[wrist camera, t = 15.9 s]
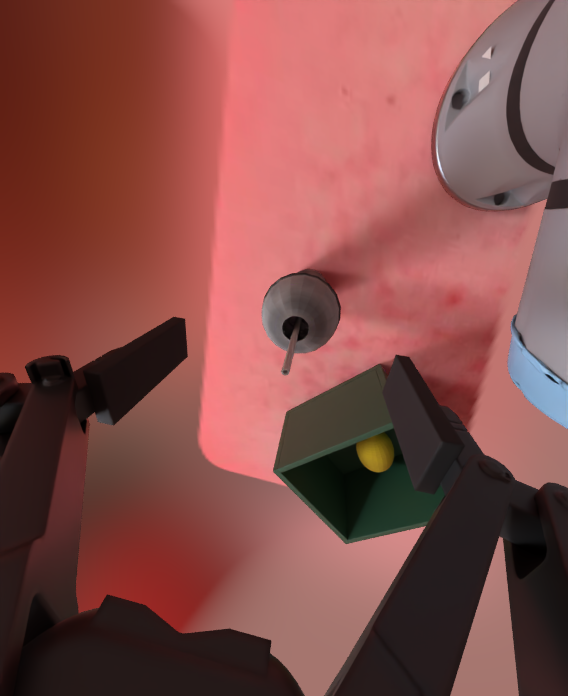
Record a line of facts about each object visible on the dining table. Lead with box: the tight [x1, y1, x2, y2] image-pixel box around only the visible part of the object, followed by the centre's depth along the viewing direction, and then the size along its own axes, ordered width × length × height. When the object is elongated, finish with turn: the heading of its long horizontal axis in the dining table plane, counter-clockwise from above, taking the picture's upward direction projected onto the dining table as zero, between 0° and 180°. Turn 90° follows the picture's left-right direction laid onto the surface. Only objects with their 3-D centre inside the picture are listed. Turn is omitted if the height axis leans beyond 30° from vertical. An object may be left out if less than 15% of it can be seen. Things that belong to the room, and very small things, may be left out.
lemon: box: [356, 432, 394, 472], centre depth 39 cm, size 6×6×8 cm
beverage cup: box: [262, 269, 341, 375], centre depth 24 cm, size 7×7×20 cm
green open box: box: [273, 364, 445, 544], centre depth 37 cm, size 18×18×12 cm
